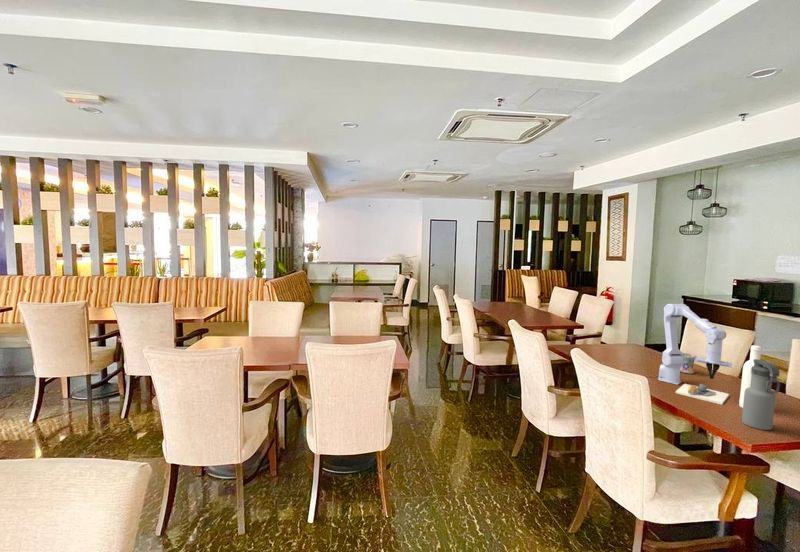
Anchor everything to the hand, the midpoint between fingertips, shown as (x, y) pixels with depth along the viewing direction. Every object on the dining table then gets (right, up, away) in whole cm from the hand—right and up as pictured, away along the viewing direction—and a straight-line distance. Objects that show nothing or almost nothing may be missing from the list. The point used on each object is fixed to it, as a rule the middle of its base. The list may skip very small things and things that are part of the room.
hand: (711, 378), depth 200 cm
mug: (+17, -7, +43) cm, 47 cm away
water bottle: (-4, -13, -30) cm, 33 cm away
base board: (-1, -10, +5) cm, 11 cm away
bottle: (+9, -11, -11) cm, 19 cm away
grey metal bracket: (-3, -8, +4) cm, 10 cm away
